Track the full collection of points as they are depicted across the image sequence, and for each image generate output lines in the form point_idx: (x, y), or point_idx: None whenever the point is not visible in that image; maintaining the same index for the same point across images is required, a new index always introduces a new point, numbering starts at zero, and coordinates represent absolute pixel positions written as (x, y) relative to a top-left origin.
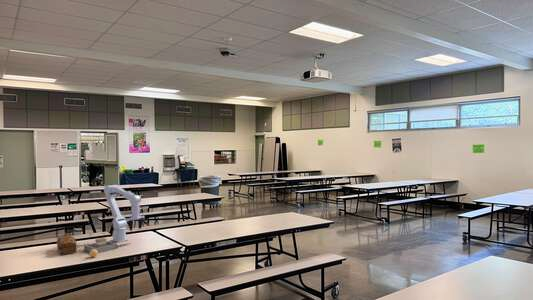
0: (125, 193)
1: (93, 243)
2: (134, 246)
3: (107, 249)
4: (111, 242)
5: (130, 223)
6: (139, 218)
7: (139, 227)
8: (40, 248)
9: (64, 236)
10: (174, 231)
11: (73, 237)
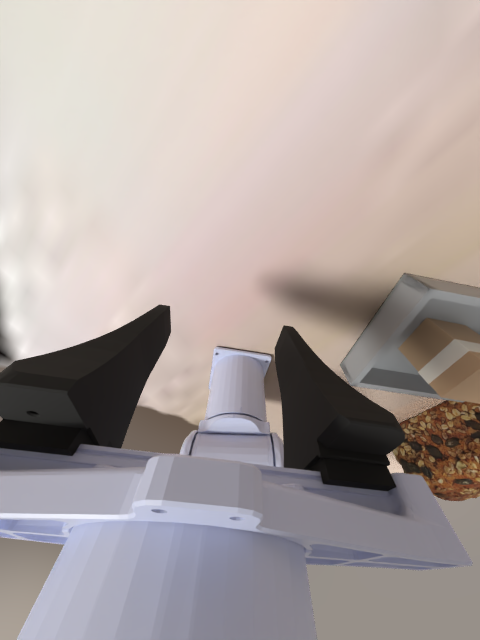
0: None
1: (418, 395)
2: (333, 185)
3: (474, 289)
4: (394, 339)
5: (377, 406)
6: (161, 459)
7: (165, 329)
8: (399, 468)
9: (475, 493)
10: None
11: (455, 473)
